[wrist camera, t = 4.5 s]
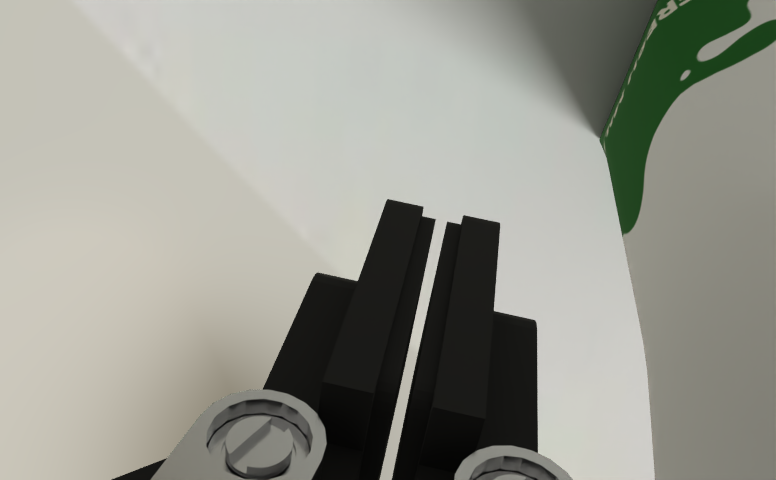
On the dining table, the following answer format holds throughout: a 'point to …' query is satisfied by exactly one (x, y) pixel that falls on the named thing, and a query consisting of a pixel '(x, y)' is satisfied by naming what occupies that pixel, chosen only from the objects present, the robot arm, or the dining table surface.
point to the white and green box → (703, 231)
